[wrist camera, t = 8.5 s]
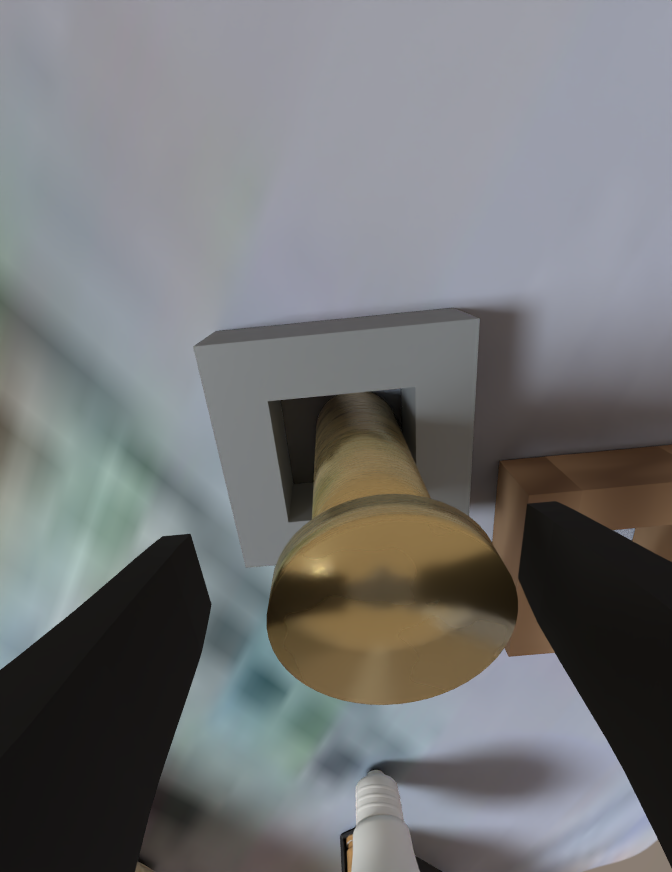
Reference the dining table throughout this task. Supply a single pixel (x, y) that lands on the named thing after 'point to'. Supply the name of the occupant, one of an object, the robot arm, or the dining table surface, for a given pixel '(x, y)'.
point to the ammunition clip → (347, 855)
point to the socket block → (331, 375)
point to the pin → (384, 573)
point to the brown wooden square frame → (582, 510)
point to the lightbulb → (381, 828)
